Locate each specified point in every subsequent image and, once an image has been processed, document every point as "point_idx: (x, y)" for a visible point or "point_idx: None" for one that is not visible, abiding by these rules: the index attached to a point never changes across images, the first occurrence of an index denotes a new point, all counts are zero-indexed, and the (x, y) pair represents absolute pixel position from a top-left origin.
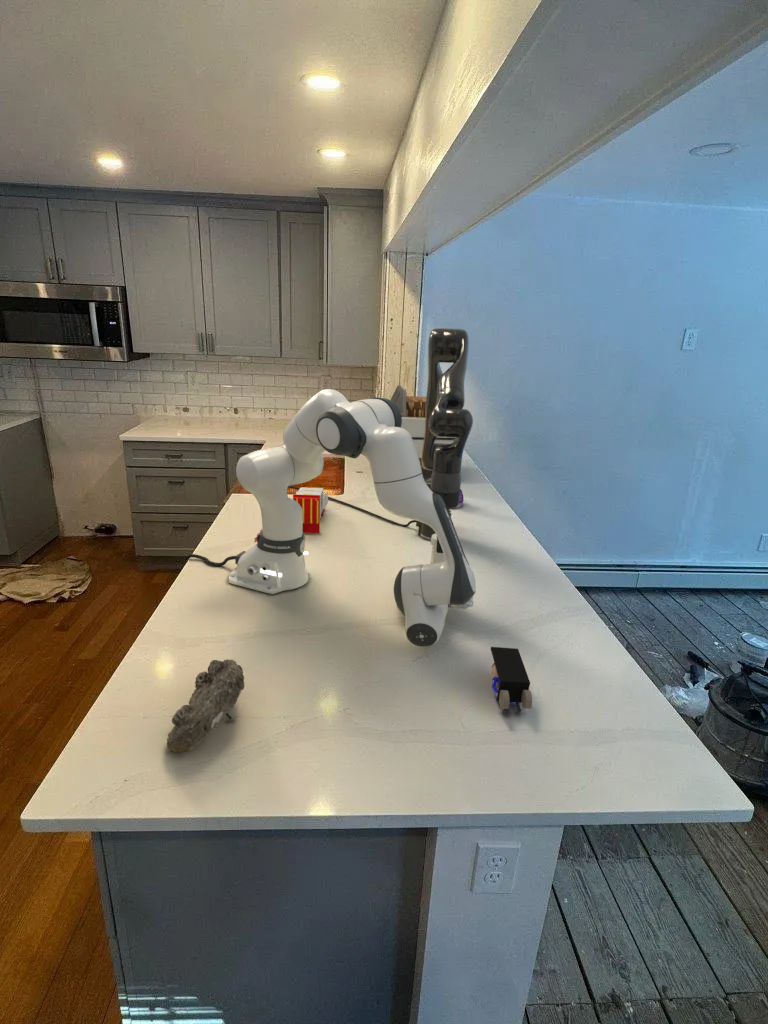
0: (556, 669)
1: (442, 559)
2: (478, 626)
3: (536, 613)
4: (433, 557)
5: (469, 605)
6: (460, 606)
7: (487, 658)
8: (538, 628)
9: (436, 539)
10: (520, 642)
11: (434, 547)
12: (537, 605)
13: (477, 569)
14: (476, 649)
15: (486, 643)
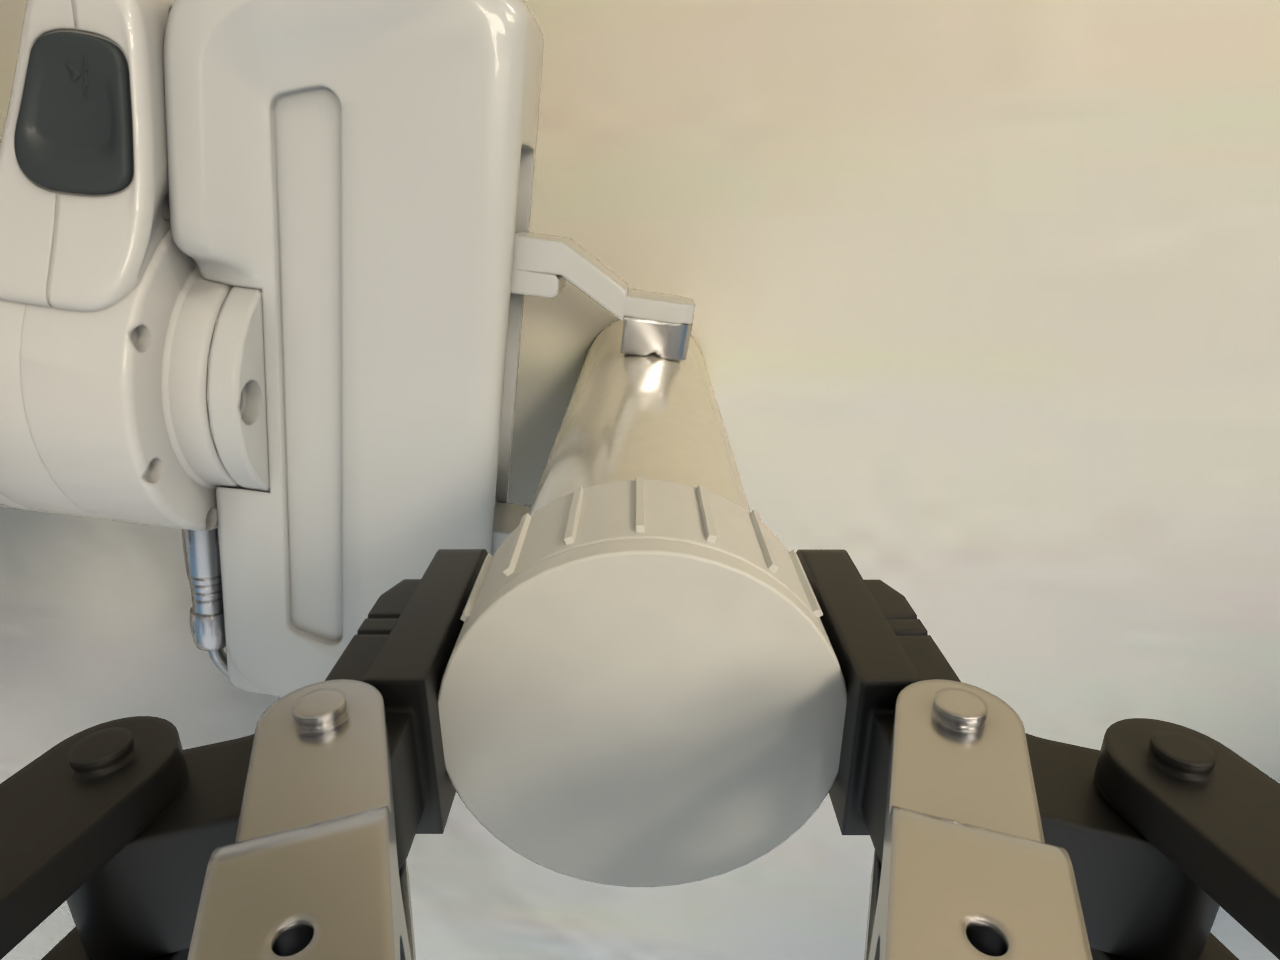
0: (58, 924)
1: None
2: None
3: (576, 924)
4: (562, 459)
5: (232, 665)
6: (192, 602)
7: (11, 655)
8: (415, 911)
9: (459, 646)
10: None
11: None
12: (669, 940)
13: (1162, 688)
14: (78, 607)
15: (166, 663)
